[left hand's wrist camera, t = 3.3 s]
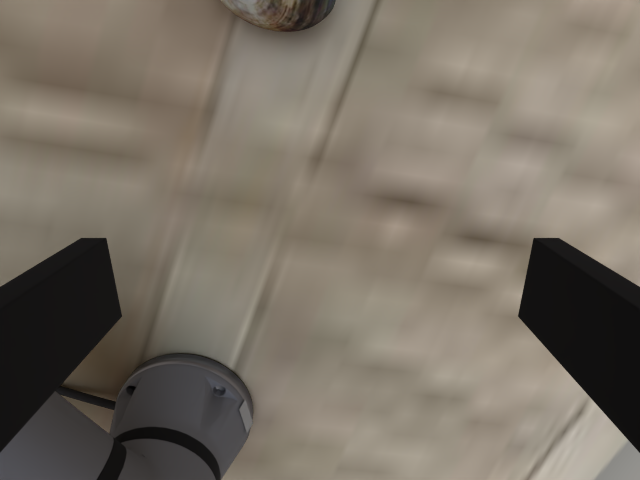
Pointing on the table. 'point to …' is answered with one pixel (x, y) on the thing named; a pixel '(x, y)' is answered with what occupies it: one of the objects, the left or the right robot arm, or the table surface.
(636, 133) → the table surface
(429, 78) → the table surface
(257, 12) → the seashell
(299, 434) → the table surface
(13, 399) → the left robot arm
